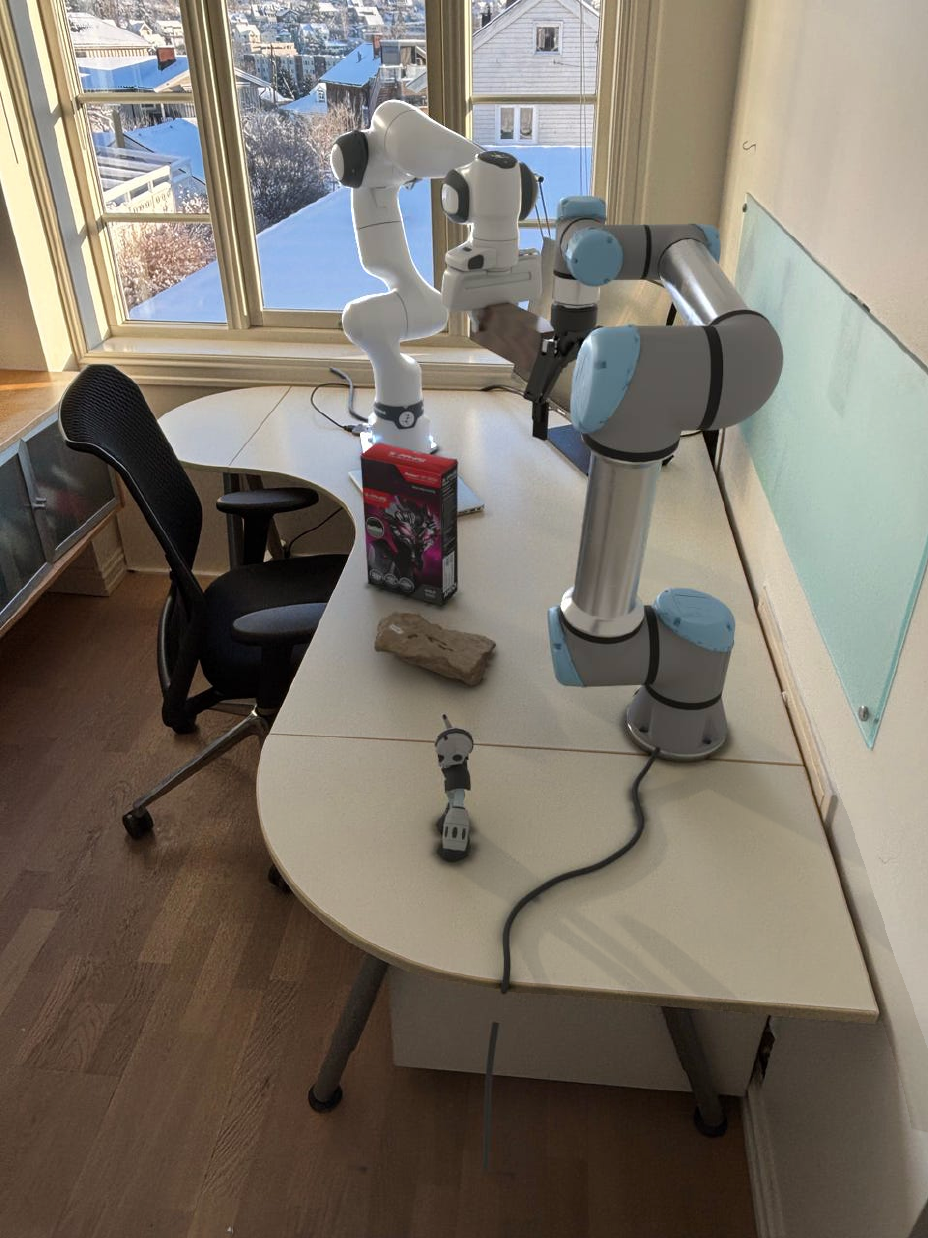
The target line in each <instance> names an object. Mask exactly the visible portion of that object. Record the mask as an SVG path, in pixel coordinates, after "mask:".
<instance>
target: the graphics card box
mask: <svg viewBox="0 0 928 1238" xmlns="http://www.w3.org/2000/svg"><path fill="white" fill-rule="evenodd" d="M359 458H360V470H361V486H362V487H361V488H362V504H363V518H364V534H365V535H364V537H365V551H366V572H367V584H369V585H371V586H374V587H378V588H382V589H384V590H387V591H390V592H391V591H392V592H395V593H397V594H402V595H406V596H408V597H412V598H415V599H418V600H422V601H426V602H429V603H433V604H435V605H439V606H443V605H444V604H446V602H448V601H449V600H450V599H451V598H452V597H453V596H454V595H455V594H456V593H457V592H458V589H459V584H458V583H459V576H458V575H459V574H458V573H459V555H458V554H459V553H458V552H459V551H458V550H459V548H458V547H459V545H458V542H459V541H458V537H459V536H458V535H459V534H458V532H459V531H458V506H459V505H458V503H459V502H458V494H459V493H458V490H459V489H458V484H459V483H458V482H459V481H458V480H459V479H458V477H459V475H458V473H459V468H458V467H459V461H458V458H448V457H444V456H440V455H435V454H431V453H430V454H427V453H422V452H418V451H414V450H410V449H405V448H401V447H397V446H392V445H388V444H384V443H379V442H378V443H376V444H374V445H373V446H371V447H370V448H368V449H367V450H366V451H365V452H364V453H363V452H362V454H361V455H360V457H359Z"/></svg>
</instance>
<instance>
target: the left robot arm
mask: <svg viewBox="0 0 928 1238" xmlns="http://www.w3.org/2000/svg"><path fill="white" fill-rule="evenodd" d="M330 147H331V148H330V165H331V170H332V173H333V177H334V178H335V180H336V181H337V182H338V184H339V185H340V186H341V187H343V188H348V189H351V191H350V198H351V199H350V201H351V203H350V204H351V217H352V223H353V228H354V229H353V230H354V234H355V240H356V244H357V248H358V254H359V260H360V264H361V266H362V268H363V270H364V271H365V272H366V273H367V274H369V275H371V276H373V277H375V278H377V279H380V280H381V281H382V282H383V283H384V284H385V286H386V287H387V290H388V292H385V293H378V294H370V295H365V296H362V297H360V298H357V299H354V300H352V301H350V302H348V303H347V304H346V306H345V308H344V310H343V312H342V317H341V323H342V324H341V325H342V330H343V332H344V334H345V336H346V337H347V340H349V341H350V342H351V343H352V344H353V345H355V346H356V347H358V348H359V349H361V351H363V352H364V353H365V355H366V357H367V358H368V360H369V361H370V363H371V367H372V370H373V371H372V372H373V377H374V385H375V386H374V387H375V398H374V401H373V412H372V413H371V414H370V415H369V416H368V417H364V416H362V415H360V414H358V413H357V412H356V411H355V410H354V409H353V397H354V385H353V382H352V380H351V378H350V377H349V376H348V375H347V374H346V373H344V372H342V371H340V370H339V369H336V368H335V367H332V366H329V367H328V369H329V370H330V371H332V372H334V373H336V374H338V375H340V376H342V377H343V378H344V379H345V380H346V381H347V382H348V385H349V397H348V410H349V412H350V414H351V415H352V416H354V417H355V418H357V419H358V420H360V421H363V422H366V423H363V424H362V432H360V434H359V440H360V444H361V449H362V454H363V453H364V452H365V451H366V450H367V449H368V448H370V447H371V446H373V445H374V444H376V443H378V442H379V443H384V444H388V445H392V446H397V447H401V448H405V449H410V450H414V451H418V452H422V453H427V454H431V453H432V452H434V451H436V450H437V449H438V446H437V443H435V442H434V441H433V440H434V438H433V436H432V434H431V433H432V432H431V423H430V422H431V421H430V418H429V417H428V416H427V415H426V414H424V413H425V401H424V400H425V399H424V397H423V387H422V386H423V385H422V382H423V381H422V369H421V366H420V364H419V363H418V362H417V360H415V359H414V358H412V357H411V356H409V355H406V354H404V353H401V349H400V343H402V342H407V341H413V340H419V339H425V338H428V337H431V336H433V335H435V334H438V333H440V332H442V331H444V330H445V328H446V326H447V324H448V321H449V318H450V317H449V315H450V313H449V312H451V313H461V312H466V315H467V316H468V318H469V321H470V320H471V321H472V331H473V332H475V333H477V332H482V331H483V328H482V327H483V323H482V322H480V321H478V319H477V317H476V315H478V314H479V309H481V308H485V307H486V306H490V305H496V304H502V303H509V302H510V303H512V304H514V305H516V306H518V307H519V304H520V303H524V302H530V301H536V300H539V299H540V297H541V296H542V294H543V279H542V278H543V277H542V275H543V274H542V259H543V258H542V257H543V256H542V254H541V252H540V251H539V250H538V249H537V248H535V247H528V248H520V235H521V233H520V229H519V222H523V221H525V220H526V219H527V218H528V217H529V215H530V214H531V213H532V211H533V210H534V209H535V207H536V204H537V202H538V199H539V195H540V194H539V192H540V191H539V189H540V188H539V183H538V180H537V178H536V176H535V174H534V172H533V171H532V170H531V168H530V167H529V166H528V165H527V164H526V163H525V162H524V161H519V160H518V158H517V157H516V156H515V155H513V154H511V153H510V152H507V151H501V150H494V149H487V148H486V147H484V146H483V145H481V144H479V143H478V142H475V141H473V140H471V139H469V138H467V137H465V136H462V135H461V134H458V133H457V132H455V131H453V130H451V129H449V128H447V127H445V126H443V125H442V124H440V123H438V122H437V121H436V120H433V118H430V117H429V116H428V115H427V114H426V113H424V112H423V111H421V110H420V109H419V108H417V107H415V106H413V105H411V104H409V103H407V102H405V101H402V100H398V99H390V100H386V101H384V102H383V103H381V104H380V105H379V106H377V108H376V109H375V111H374V113H373V114H372V117H371V124H370V128H369V129H363V130H359V128H354V129H353V130H351V131H348V132H345V133H343V134H341V135H339V136H337V137H336V138H335V140H334V142H333V143H332V144H331V146H330ZM424 179H425V180H426V179H427V180H429V179H443V180H442V182H441V185H440V191H439V192H440V193H439V194H440V196H439V197H440V198H439V199H440V206H441V210H442V212H443V213H444V215H445V217H447V218H448V219H449V220H450V221H451V222H452V223H453V224H459V225H470V226H471V230H470V237H469V238H470V239H468V240H466V241H465V242H464V243H462V244H460V245H458V246H456V247H454V248H452V249H450V250H448V251H447V252H446V253H445V256H444V260H445V264H447V265H448V266H447V267H446V268H445V270H444V272H443V275H442V281H441V292H440V291H439V290H437V289H436V288H435V287H433V286H431V285H430V284H429V283H428V282H427V281H426V280H425V279H424V278H423V277H422V275H421V274H420V272H419V270H418V269H417V268H416V266H415V264H414V262H413V260H412V256H411V253H410V248H409V244H408V239H407V235H406V230H405V227H404V226H405V224H404V220H403V215H402V211H401V207H400V203H399V193H400V190H401V188H402V187H403V188H404V189H405V190H406V191H409V192H411V190H413V188H414V187H415V185H416V184H418V183H419V182H421V181H422V180H424Z"/></svg>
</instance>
